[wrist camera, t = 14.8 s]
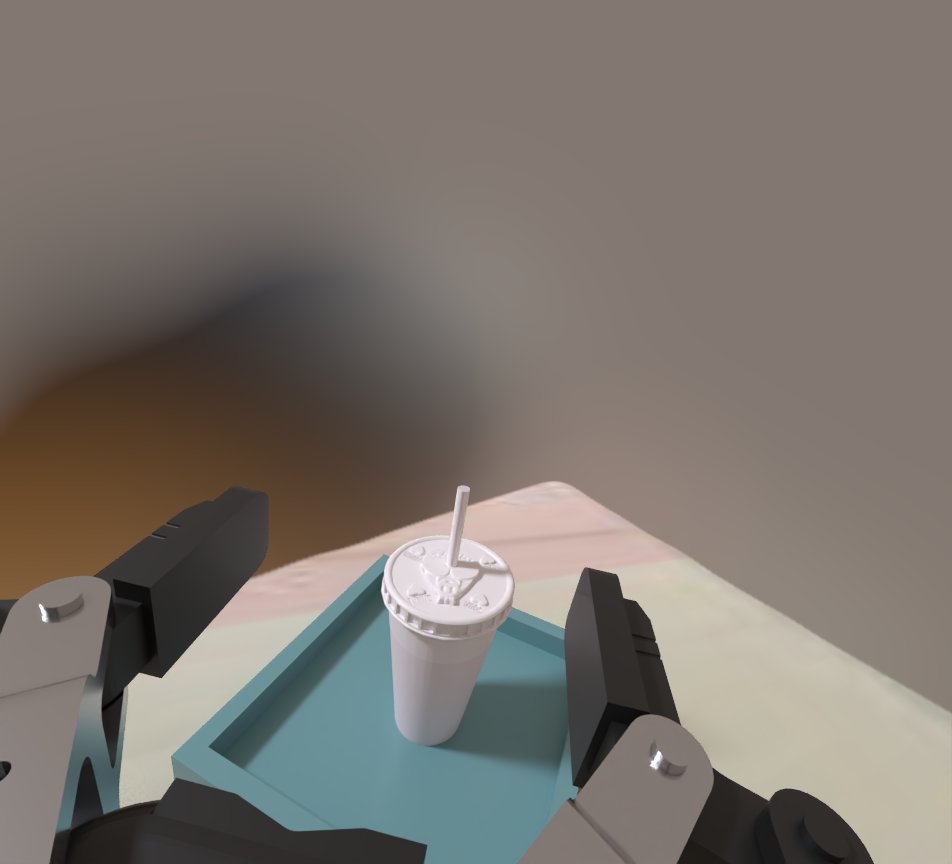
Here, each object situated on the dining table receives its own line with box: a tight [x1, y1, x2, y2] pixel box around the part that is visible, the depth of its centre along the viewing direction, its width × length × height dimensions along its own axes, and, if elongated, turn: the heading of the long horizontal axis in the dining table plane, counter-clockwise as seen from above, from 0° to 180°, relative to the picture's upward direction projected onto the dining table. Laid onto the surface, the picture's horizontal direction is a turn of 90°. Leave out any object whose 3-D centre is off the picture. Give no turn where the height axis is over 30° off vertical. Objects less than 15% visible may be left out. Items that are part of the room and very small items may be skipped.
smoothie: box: [381, 486, 515, 746], centre depth 23 cm, size 6×6×14 cm
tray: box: [171, 555, 579, 864], centre depth 26 cm, size 17×17×2 cm
